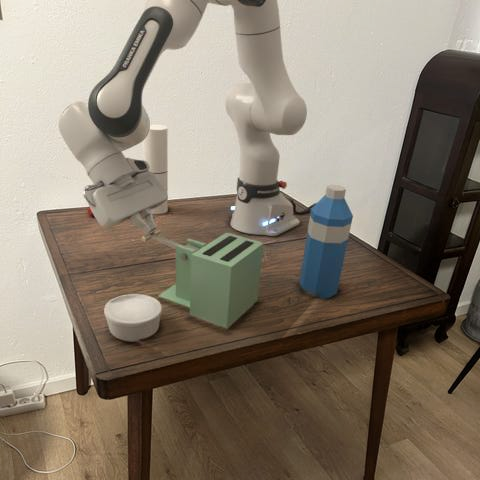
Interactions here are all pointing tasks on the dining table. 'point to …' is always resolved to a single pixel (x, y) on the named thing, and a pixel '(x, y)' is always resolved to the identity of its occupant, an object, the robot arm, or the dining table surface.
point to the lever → (165, 240)
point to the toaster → (225, 279)
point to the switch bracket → (182, 275)
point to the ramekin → (133, 316)
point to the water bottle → (326, 243)
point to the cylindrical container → (157, 158)
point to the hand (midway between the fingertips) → (151, 231)
